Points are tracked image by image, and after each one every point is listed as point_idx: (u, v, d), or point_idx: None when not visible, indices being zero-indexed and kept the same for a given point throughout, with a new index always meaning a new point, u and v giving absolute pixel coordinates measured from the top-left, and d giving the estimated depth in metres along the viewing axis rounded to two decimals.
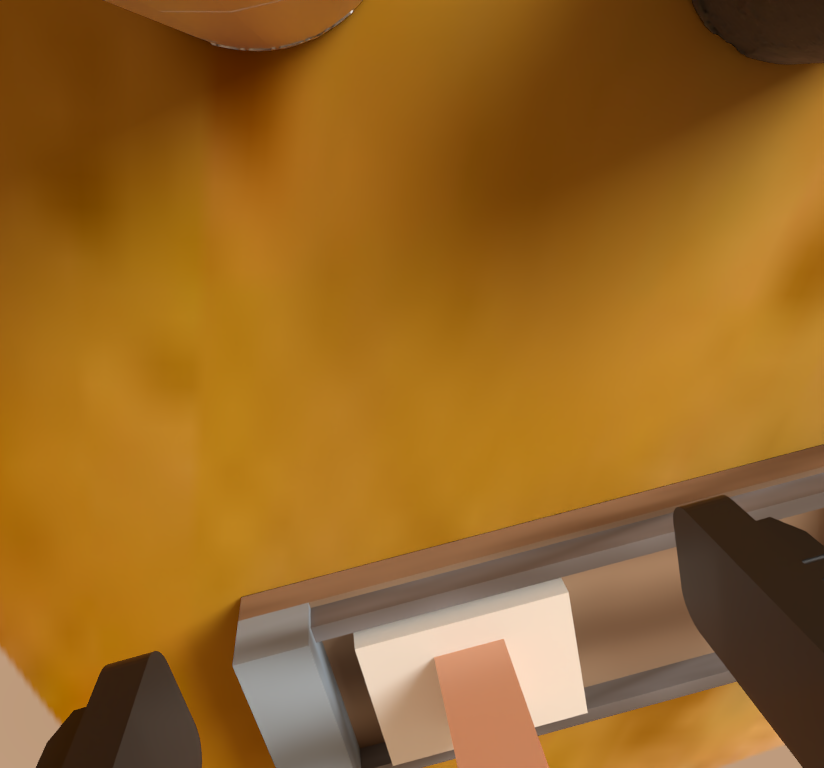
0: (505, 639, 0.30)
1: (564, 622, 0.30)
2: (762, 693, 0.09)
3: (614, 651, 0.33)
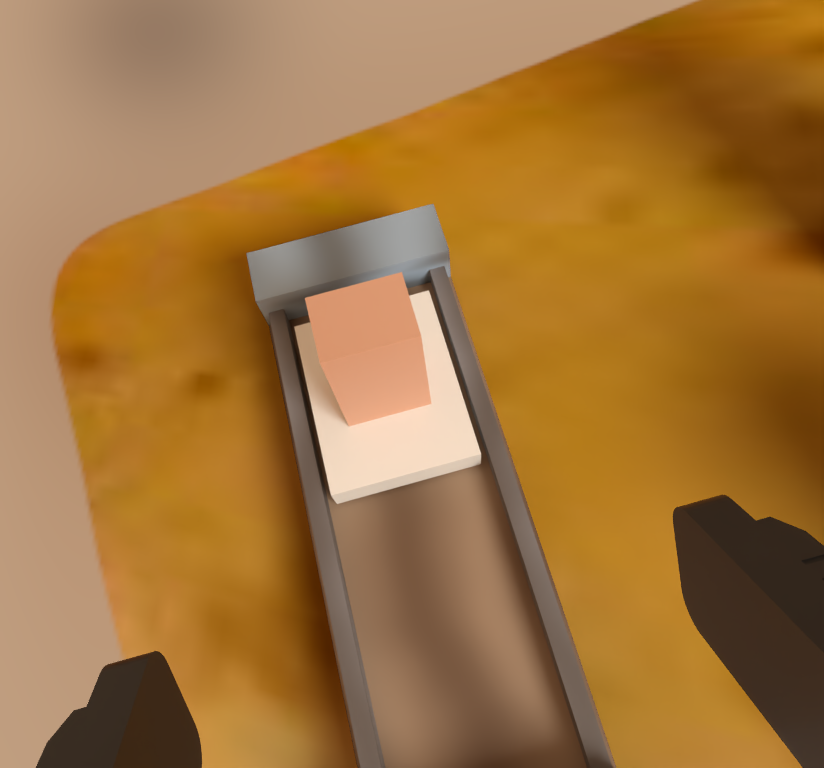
0: (430, 405, 0.34)
1: (446, 455, 0.33)
2: (762, 693, 0.09)
3: (374, 540, 0.33)
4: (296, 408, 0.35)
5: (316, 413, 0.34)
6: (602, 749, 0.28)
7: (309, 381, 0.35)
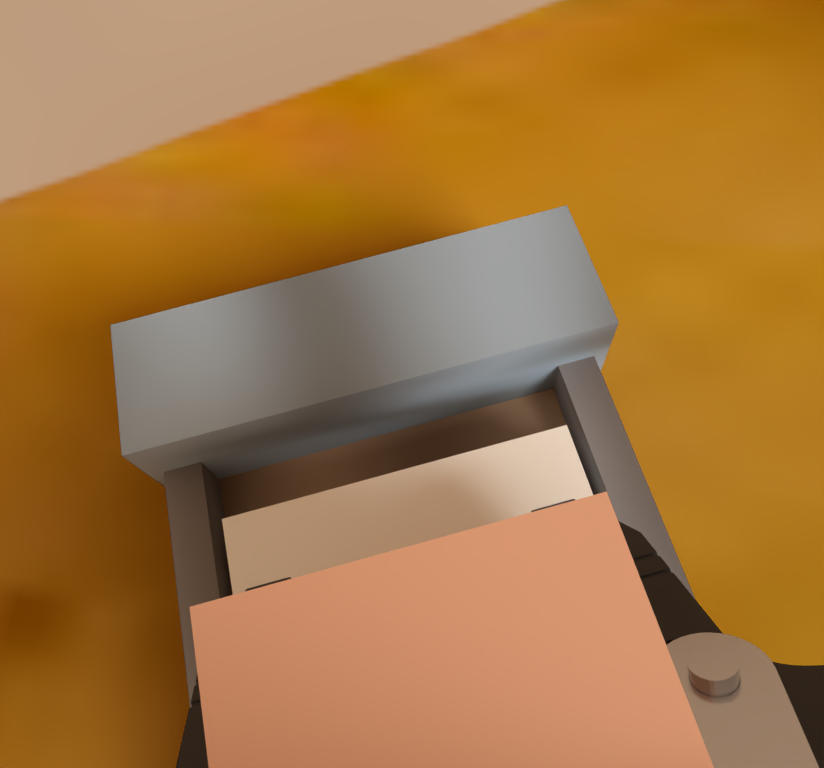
0: None
1: None
2: None
3: None
4: None
5: None
6: None
7: None
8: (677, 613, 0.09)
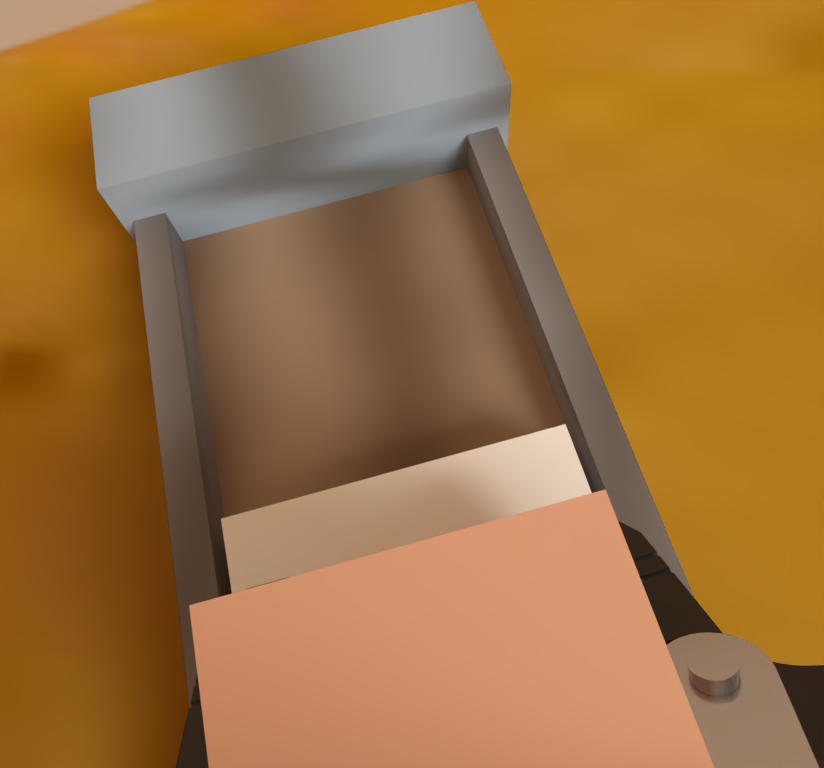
0: None
1: None
2: None
3: None
4: (175, 420, 0.15)
5: None
6: None
7: None
8: (677, 613, 0.09)
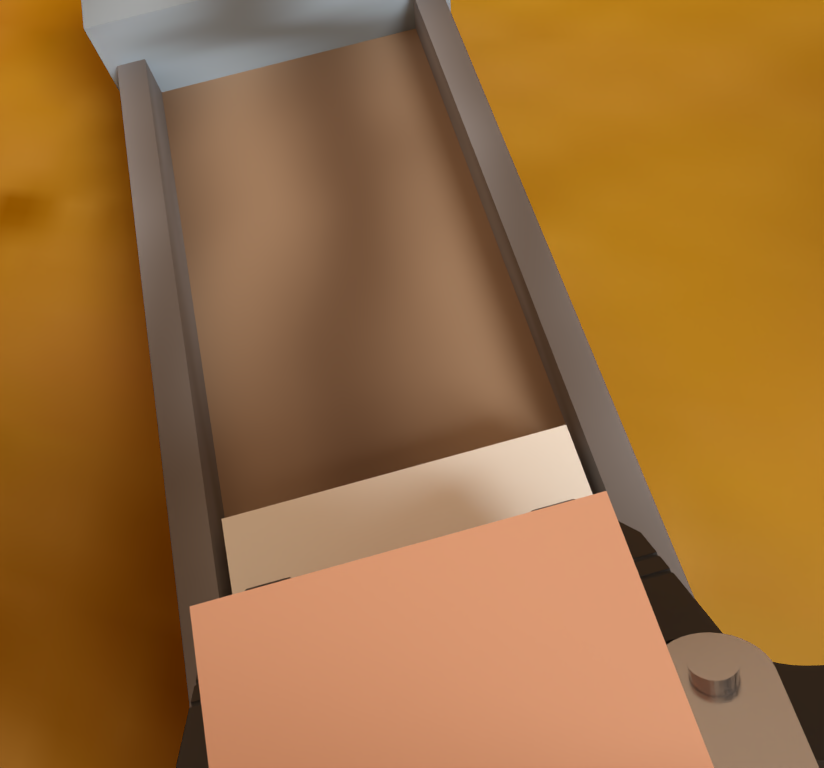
0: None
1: None
2: None
3: (294, 467, 0.16)
4: (150, 218, 0.18)
5: None
6: None
7: None
8: (677, 613, 0.09)
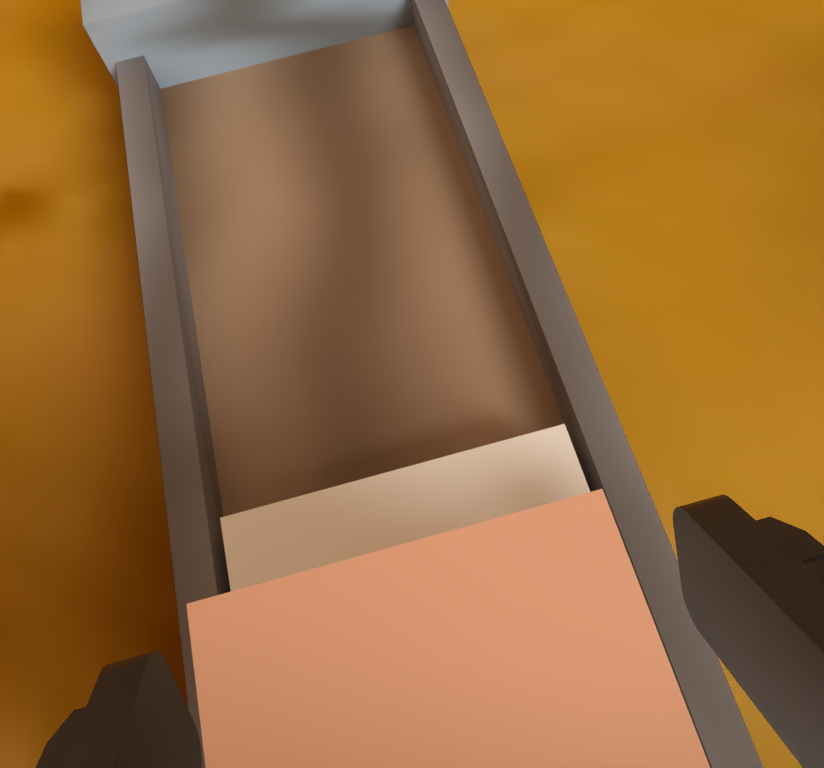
0: None
1: None
2: (762, 693, 0.09)
3: (292, 461, 0.16)
4: (149, 213, 0.18)
5: None
6: None
7: None
8: None
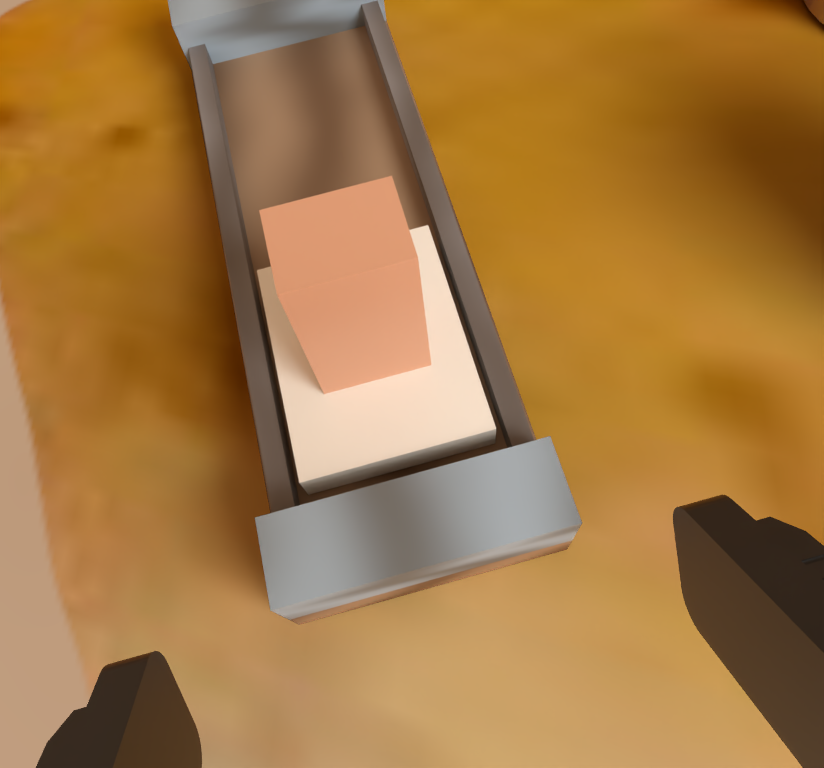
0: (430, 367, 0.26)
1: (451, 430, 0.25)
2: (762, 693, 0.09)
3: None
4: (212, 131, 0.32)
5: (282, 377, 0.26)
6: (525, 428, 0.25)
7: (274, 337, 0.27)
8: None
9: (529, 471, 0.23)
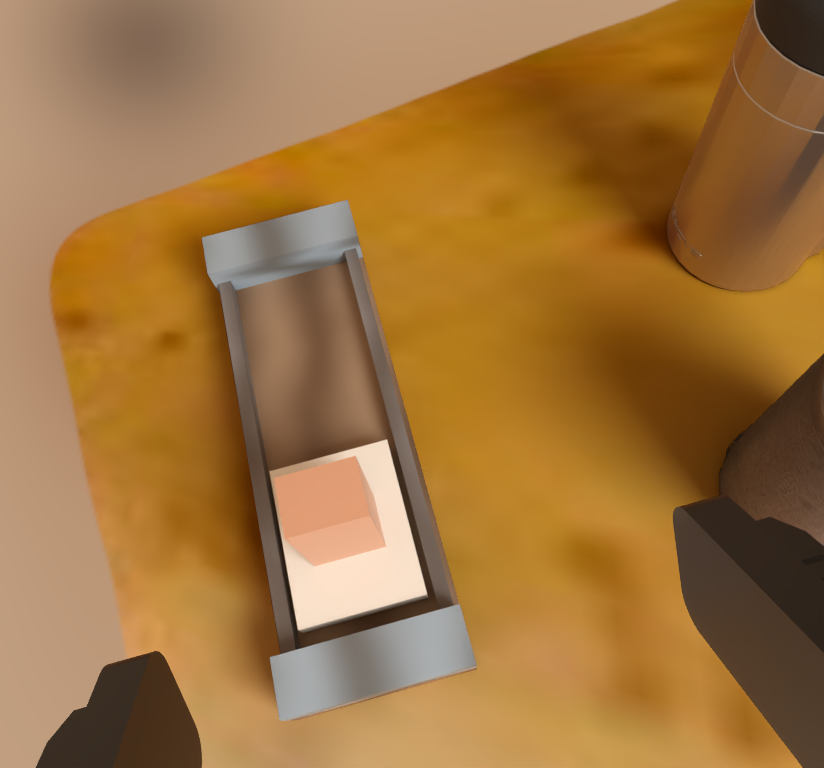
0: (385, 548, 0.39)
1: (397, 594, 0.38)
2: (762, 694, 0.09)
3: (293, 452, 0.44)
4: (237, 355, 0.45)
5: (287, 553, 0.39)
6: (447, 592, 0.38)
7: (281, 523, 0.40)
8: None
9: (445, 628, 0.36)
